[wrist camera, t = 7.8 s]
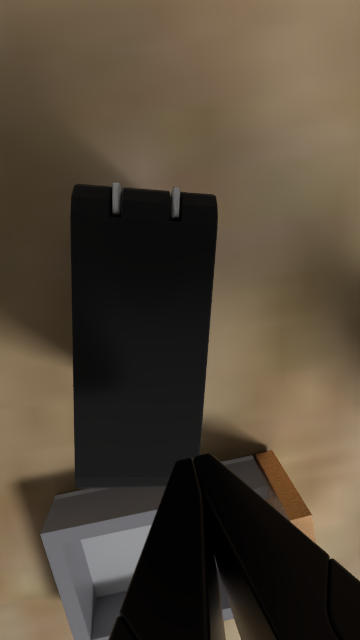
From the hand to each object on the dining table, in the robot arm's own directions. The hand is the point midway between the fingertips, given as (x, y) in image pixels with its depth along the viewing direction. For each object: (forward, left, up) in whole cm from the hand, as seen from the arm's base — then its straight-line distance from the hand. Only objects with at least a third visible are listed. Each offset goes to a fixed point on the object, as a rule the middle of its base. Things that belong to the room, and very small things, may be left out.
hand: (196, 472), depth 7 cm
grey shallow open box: (+2, +15, -13) cm, 20 cm away
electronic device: (+1, -2, -13) cm, 13 cm away
